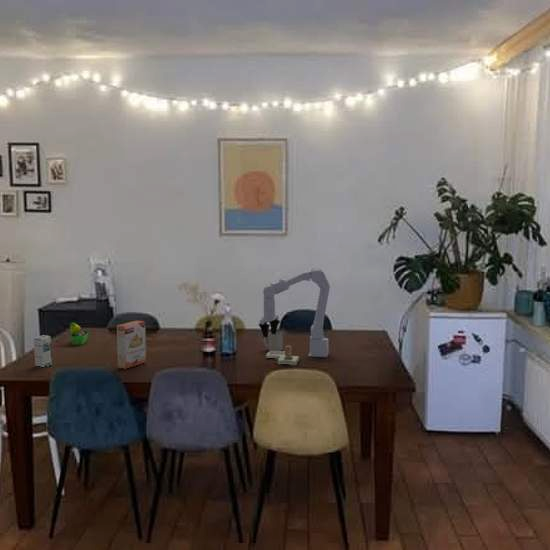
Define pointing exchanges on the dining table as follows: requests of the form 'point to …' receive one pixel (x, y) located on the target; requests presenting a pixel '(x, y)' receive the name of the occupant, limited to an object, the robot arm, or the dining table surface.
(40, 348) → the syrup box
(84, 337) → the fruit basket
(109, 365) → the dining table surface
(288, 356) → the peg
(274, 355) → the tray
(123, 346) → the cracker box
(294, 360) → the holder
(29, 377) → the dining table surface
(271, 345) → the cup
